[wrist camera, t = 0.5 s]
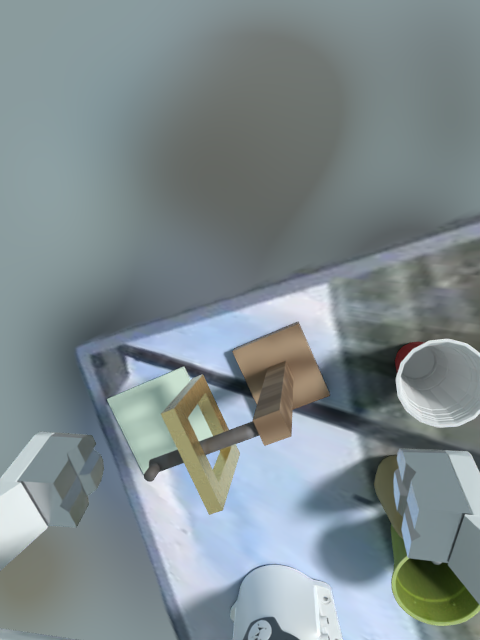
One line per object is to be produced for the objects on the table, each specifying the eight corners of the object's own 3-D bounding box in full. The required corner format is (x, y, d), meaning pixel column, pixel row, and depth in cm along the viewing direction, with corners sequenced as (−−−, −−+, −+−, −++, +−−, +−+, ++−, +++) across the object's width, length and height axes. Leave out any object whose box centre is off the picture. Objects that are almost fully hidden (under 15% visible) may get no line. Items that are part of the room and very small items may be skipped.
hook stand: (329, 391, 59) (346, 467, 37) (213, 434, 63) (168, 526, 41) (298, 321, 58) (298, 357, 36) (182, 370, 62) (120, 428, 41)
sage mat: (222, 446, 63) (221, 448, 63) (146, 474, 66) (144, 476, 66) (184, 366, 62) (183, 367, 62) (108, 398, 65) (106, 399, 65)
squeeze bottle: (431, 485, 59) (488, 580, 41) (381, 502, 61) (415, 600, 43) (410, 440, 58) (459, 517, 41) (361, 458, 60) (387, 539, 43)
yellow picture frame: (239, 453, 51) (222, 510, 40) (229, 457, 52) (209, 514, 40) (202, 374, 50) (173, 408, 39) (192, 378, 51) (160, 413, 39)
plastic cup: (441, 313, 55) (480, 327, 43) (462, 382, 56) (506, 414, 44) (367, 336, 57) (385, 355, 45) (388, 402, 58) (411, 437, 46)
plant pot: (359, 530, 62) (373, 588, 51) (408, 479, 60) (433, 529, 48) (418, 575, 62) (444, 643, 51) (470, 526, 59) (509, 587, 48)
